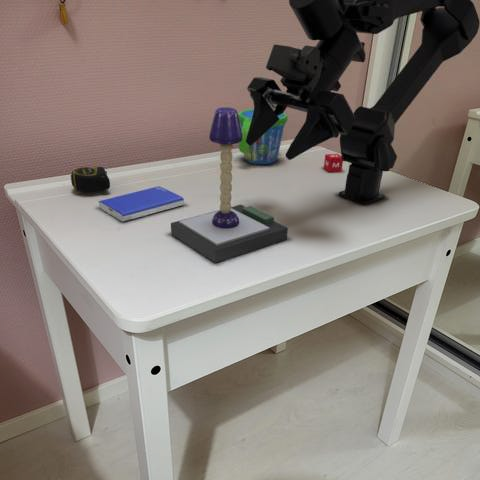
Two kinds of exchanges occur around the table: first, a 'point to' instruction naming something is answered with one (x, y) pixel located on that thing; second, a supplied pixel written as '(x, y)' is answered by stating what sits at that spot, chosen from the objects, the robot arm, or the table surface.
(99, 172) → the tape measure
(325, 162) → the dice
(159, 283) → the table surface
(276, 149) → the snack cup
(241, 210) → the scale
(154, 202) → the hard drive
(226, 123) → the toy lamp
